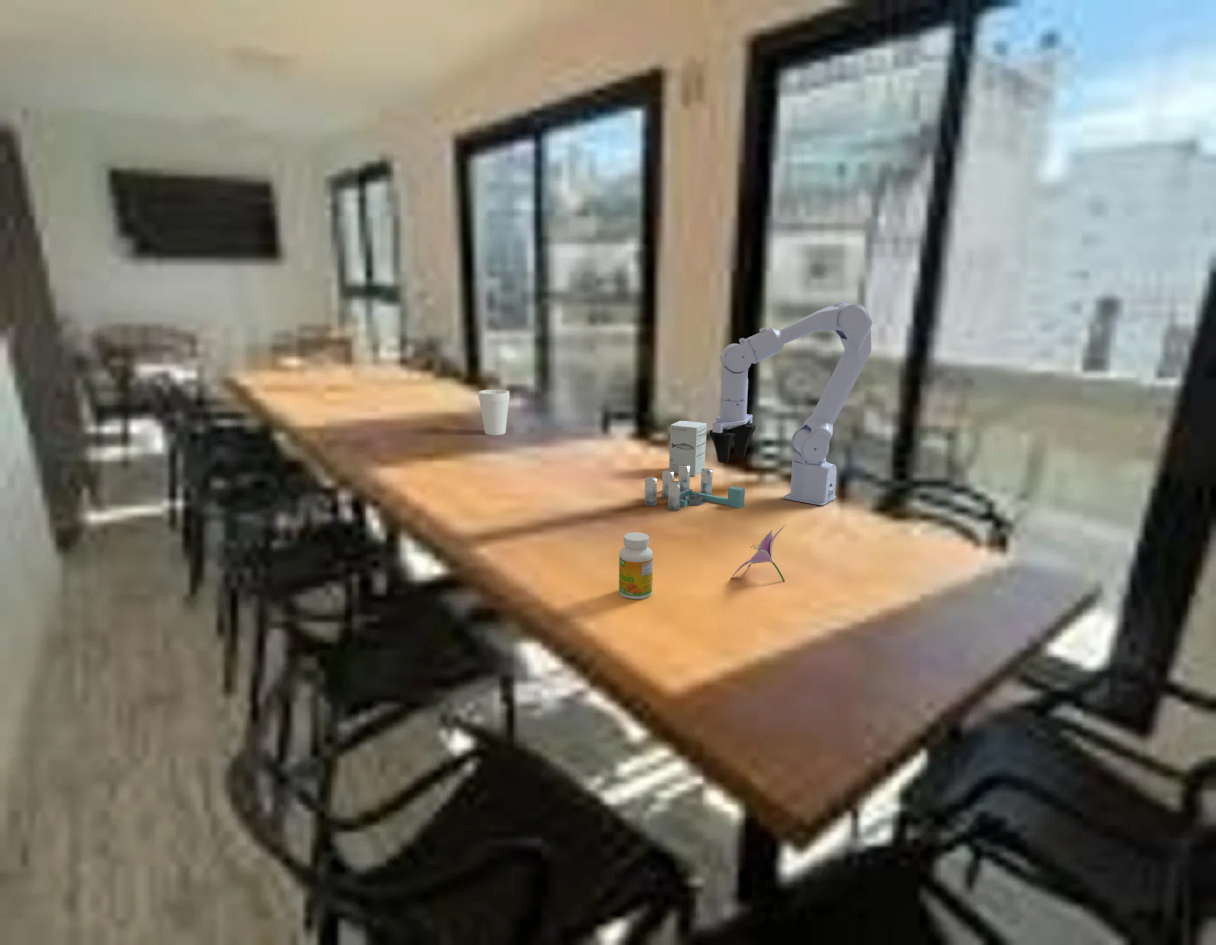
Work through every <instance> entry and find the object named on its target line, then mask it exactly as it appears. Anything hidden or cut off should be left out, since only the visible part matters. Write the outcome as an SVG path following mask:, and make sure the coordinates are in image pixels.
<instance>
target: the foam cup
mask: <svg viewBox="0 0 1216 945" xmlns="http://www.w3.org/2000/svg"><path fill="white" fill-rule="evenodd" d="M510 398H511V397H510V390H505V389H499V388H498V389H483V390H480V391H478V400H479V406H480V412H481V419H482V423H483V431H484V434H485V435H487V436H499V435H501V436H502V435H504V434H506V431H507V424H508V423H507V421H508V413H509V412H508V411H509V402H510V401H509V400H510Z"/></svg>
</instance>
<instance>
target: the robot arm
mask: <svg viewBox="0 0 1216 945" xmlns="http://www.w3.org/2000/svg"><path fill="white" fill-rule="evenodd" d="M872 325H873V321H872V319H871V316H870V314H869V312H868V310H867V309H866V308H865V307H864V306H863V305H861V304H857V303H854V304H853V303H849V302H846V301H844V302H843V301H841V302H838V303H836V304H834V305H829V306H826V307H824V308H822V309H818V310H817V311H815V312H813V313H810V314H809V315H807V316H804V317H803V318H801V319H799V320H797V321H795V322H793V323H791V324H788V325H787V326H784V327H783V328H781V329H779V330H778V329H775V328H773V327H768V328H766V327H762V328H759V332H758V333H756V334H754V335H752V336H751V335H750V336H749V337H747V338H744V337H741V338H739V339H738V341H739V343H730V344H727V346H725V347H724V349H723V350H722V352H721V355H720V358H719V359H720V363H721V364H722V365H723V367H722V372H721V373H722V378H721V391H720V392H721V393H720V394H721V396H720V415H719V416H716V417H715V422H713V423H712V429H710V430H709V432H708V433H709V434H708V435H709V437H710V438H711V441H712V442H713V445H714V448H715V453H716V458H717V462H718V463H723V464H728V462H729V459H730V454H731V447H732V443H733V453H734V456H735V457H740V458H741V457H742V458H743V457H745V455H746V452H747V450H748V445H749V443H750V441H751V440H750V439H751V437H752V436H753V433H754V432H755V430H756V428H757V426H756V425H755V424H752V423H753V418H754V416H753V414H750V413H749V414H748V413H747V412H748V411H747V410H748V390H749V378H748V375H749V374H748V373H749V369H750V367H751V365H752V364H757V363H759V362H760V363H761V362H762V361H764V360H766V359H769V358H771V357H773V356H775V355H777V354H779V353H781V352H782V351H783V349H784V346H785V345H786V344H788V343H790V342H793V341H795V340H798V339H800V338H803V337H804V336H805V337H806V336H807V335H809V334H812V333H814V332H818V331H833V332H835V333H836V334H837V335H838V337H839V339H840V341H841V344H842V346H843V348H844V349H843V350H844V351H843V353H842V355H841V356H840V359H839V360H838V363H837V365H836V367H835V369H834V370H833V372H832V375H831V376H830V379H829V381H828V382H827V385H826V386H825V388H824V389H823V392H822V394H821V396H820V398H819V400H818V402H817V404H816V406H815V407H814V409H813V412H812V414H811V415H810V416H808V418H807V419H805V420H804V422H803V424H802V426H800V427H799V429H797V430H796V431H795V432H794V433H793V435H792V438H791V445H792V447H793V450H795V452H794V455H793V456H792V461H791V462H792V464H791V476H790V477H791V479H790V480H791V481H790V492H789V493H788V494H785V495H784V496H783V499H784V500H790V501H795V502H801V503H805V504H806V503H807V504H811V505H817V506H820V507H821V506H825V505H826V504H828V503H830V502H831V501H833V500H835V499H836V498H837V496H836V485H837V484H836V483H837V472H838V471H837V466H836V464H833V463H830V462H828V461H827V460H826V459H827V458H826V457H828V454H829V452H830V441H831V440H832V437H833V432H834V424H835V422H836V420H837V418H838V417H839V414H840V413H841V411H842V409H843V407H844V405H845V403H846V401H847V399H848V397H849V395H850V394H851V392H852V389H853V388H854V386H855V384H856V382H857V380H858V378H859V376H860V374H861V372H862V370H863V368H864V367H865V364H866V363H867V360H869V357H870V355H871V353H872ZM729 430H731V432H729Z"/></svg>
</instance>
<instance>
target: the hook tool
mask: <svg viewBox="0 0 1216 945" xmlns="http://www.w3.org/2000/svg"><path fill="white" fill-rule="evenodd" d="M745 493H746V488H744V487H738V486H730V487H728V489H727V497H724V496H719V495H713V494H712V495H709V494H704V493H700V492H699V491H693V489H692V488H689V489H686V490H683V491H681V492H680V507H683V508H686V507H688V505H687V503H688V500H684V497H687V496H689V495H695V496H701V497H703V498H705V502H709V503H715V504H719V505H720V504H721V505H726V506H727V507H732V508H737V509H741V508H743V507H745Z"/></svg>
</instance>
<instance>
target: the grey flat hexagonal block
mask: <svg viewBox="0 0 1216 945" xmlns="http://www.w3.org/2000/svg"><path fill="white" fill-rule="evenodd" d="M684 500H688V503H687V506H694V507H695V506H697V507H698V506H699V507H700V506H701V505H704V504H706V503H705V502H706V501H705V498H703V497H701V496H695V495H689V496H687V497H684Z"/></svg>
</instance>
